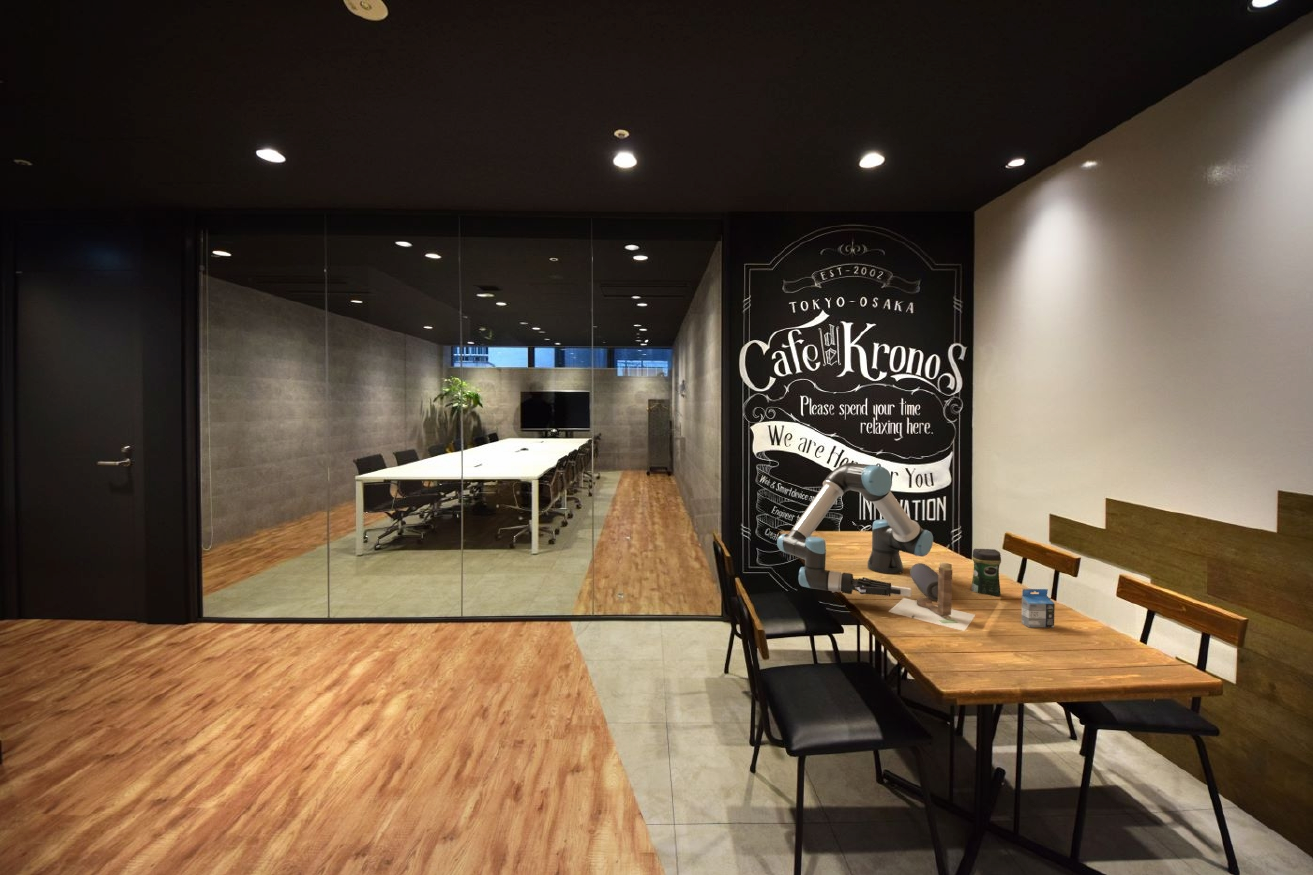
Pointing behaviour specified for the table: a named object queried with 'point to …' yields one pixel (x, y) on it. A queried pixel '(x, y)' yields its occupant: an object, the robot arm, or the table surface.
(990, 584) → the coffee jar
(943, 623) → the white flat sheet
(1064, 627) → the table surface
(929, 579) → the bluetooth speaker
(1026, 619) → the label tape box
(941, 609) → the wooden l-shaped block
